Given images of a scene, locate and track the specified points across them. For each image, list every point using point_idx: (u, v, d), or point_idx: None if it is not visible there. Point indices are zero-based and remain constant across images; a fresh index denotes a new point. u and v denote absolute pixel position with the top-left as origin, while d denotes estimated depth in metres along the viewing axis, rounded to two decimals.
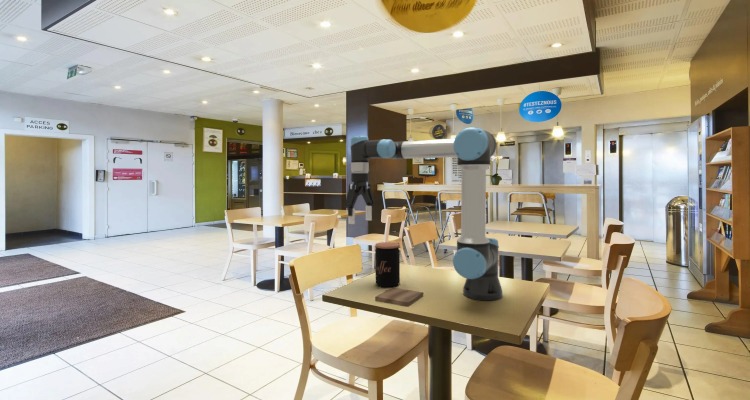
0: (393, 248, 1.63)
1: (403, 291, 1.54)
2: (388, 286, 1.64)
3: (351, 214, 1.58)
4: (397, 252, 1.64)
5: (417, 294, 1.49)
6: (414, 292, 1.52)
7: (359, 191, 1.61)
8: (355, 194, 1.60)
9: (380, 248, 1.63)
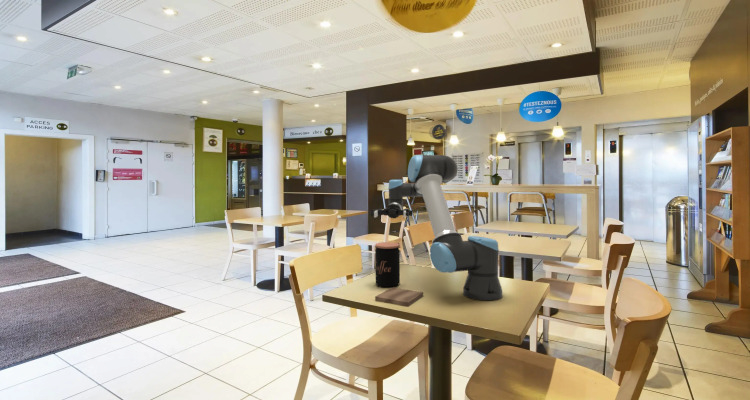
0: (393, 248, 1.63)
1: (403, 291, 1.54)
2: (388, 286, 1.64)
3: (373, 212, 1.81)
4: (397, 252, 1.64)
5: (417, 294, 1.49)
6: (414, 292, 1.52)
7: (386, 208, 1.90)
8: None
9: (380, 248, 1.63)
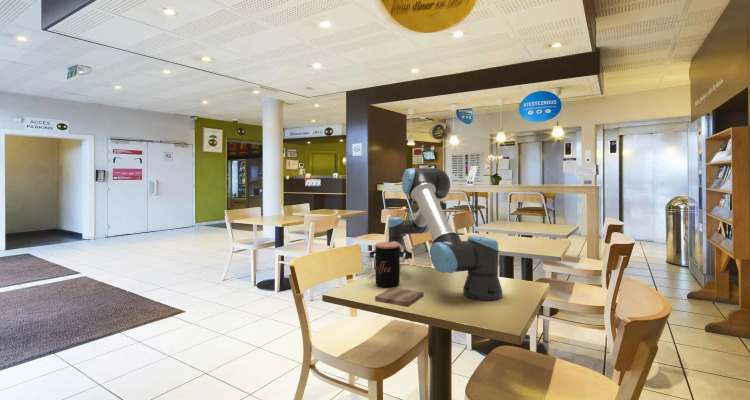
0: (393, 248, 1.63)
1: (403, 291, 1.54)
2: (388, 286, 1.64)
3: (373, 255, 1.81)
4: (397, 252, 1.64)
5: (417, 294, 1.49)
6: (414, 292, 1.52)
7: None
8: None
9: (380, 248, 1.63)
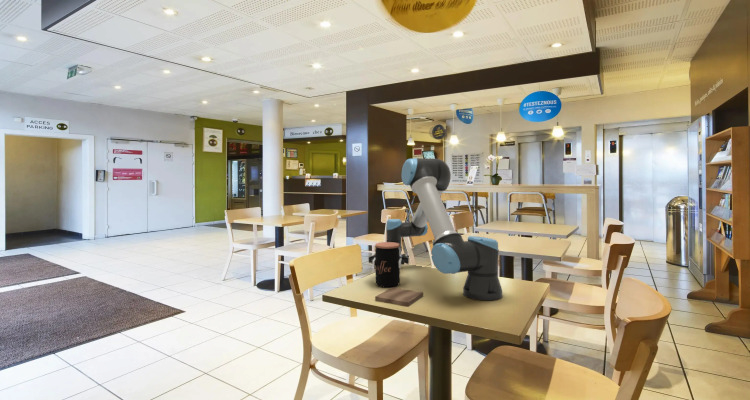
0: (393, 248, 1.63)
1: (403, 291, 1.54)
2: (388, 286, 1.64)
3: (372, 260, 1.69)
4: (397, 252, 1.64)
5: (417, 294, 1.49)
6: (414, 292, 1.52)
7: None
8: None
9: (380, 248, 1.63)
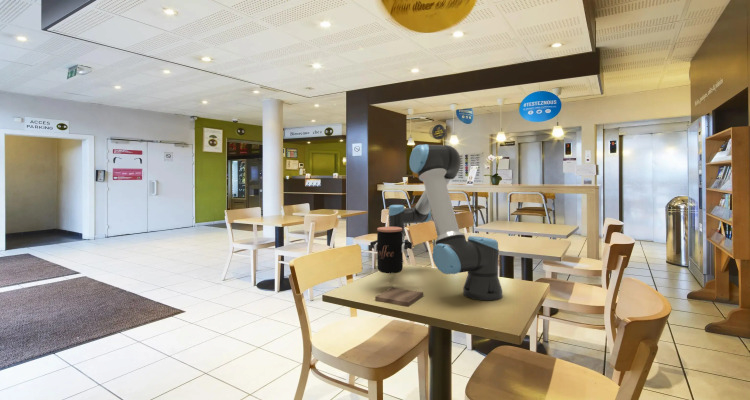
0: (396, 232, 1.56)
1: (403, 291, 1.54)
2: (391, 272, 1.56)
3: (374, 245, 1.62)
4: (400, 236, 1.57)
5: (417, 294, 1.49)
6: (414, 292, 1.52)
7: None
8: None
9: (382, 232, 1.57)
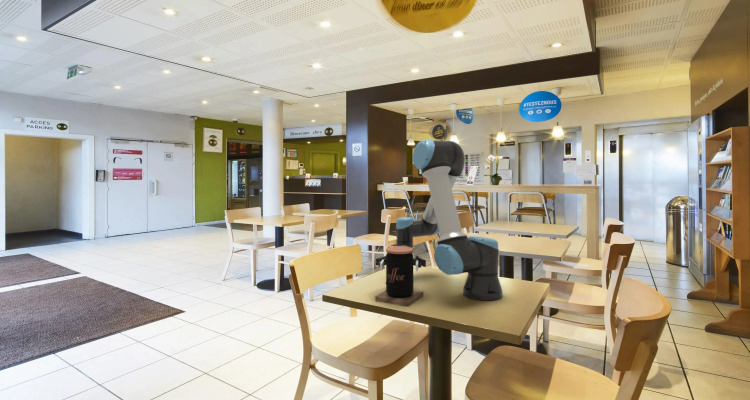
0: (406, 253, 1.44)
1: None
2: (401, 296, 1.45)
3: (379, 262, 1.51)
4: (411, 258, 1.46)
5: (417, 294, 1.49)
6: (414, 292, 1.52)
7: None
8: None
9: (392, 253, 1.45)
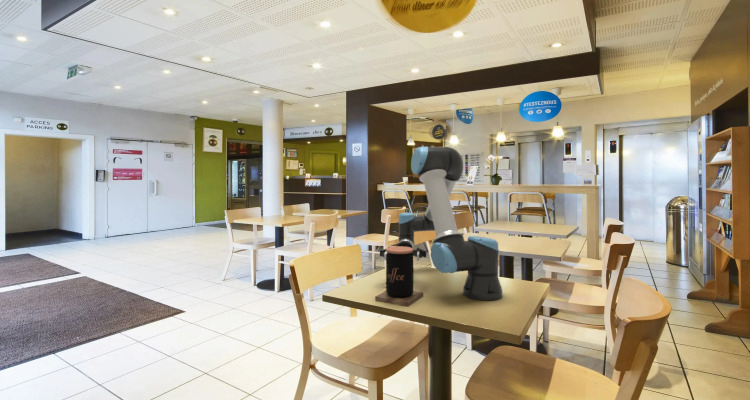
0: (406, 253, 1.44)
1: None
2: (401, 296, 1.45)
3: (383, 253, 1.64)
4: (411, 258, 1.46)
5: (417, 294, 1.49)
6: (414, 292, 1.52)
7: None
8: None
9: (392, 253, 1.45)
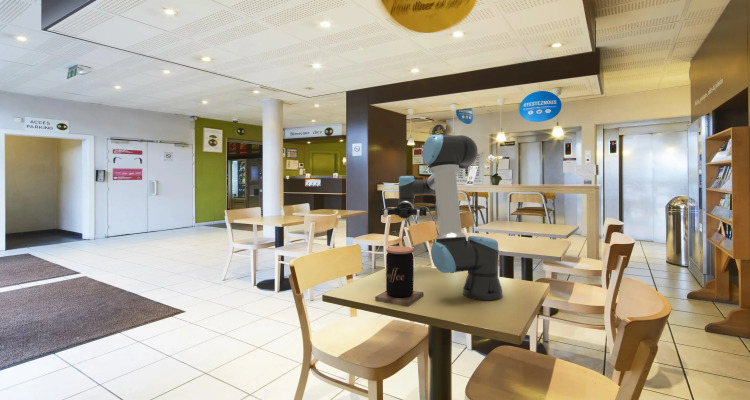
0: (406, 253, 1.44)
1: None
2: (401, 296, 1.45)
3: (383, 211, 1.63)
4: (411, 258, 1.46)
5: (417, 294, 1.49)
6: (414, 292, 1.52)
7: (396, 207, 1.71)
8: None
9: (392, 253, 1.45)
